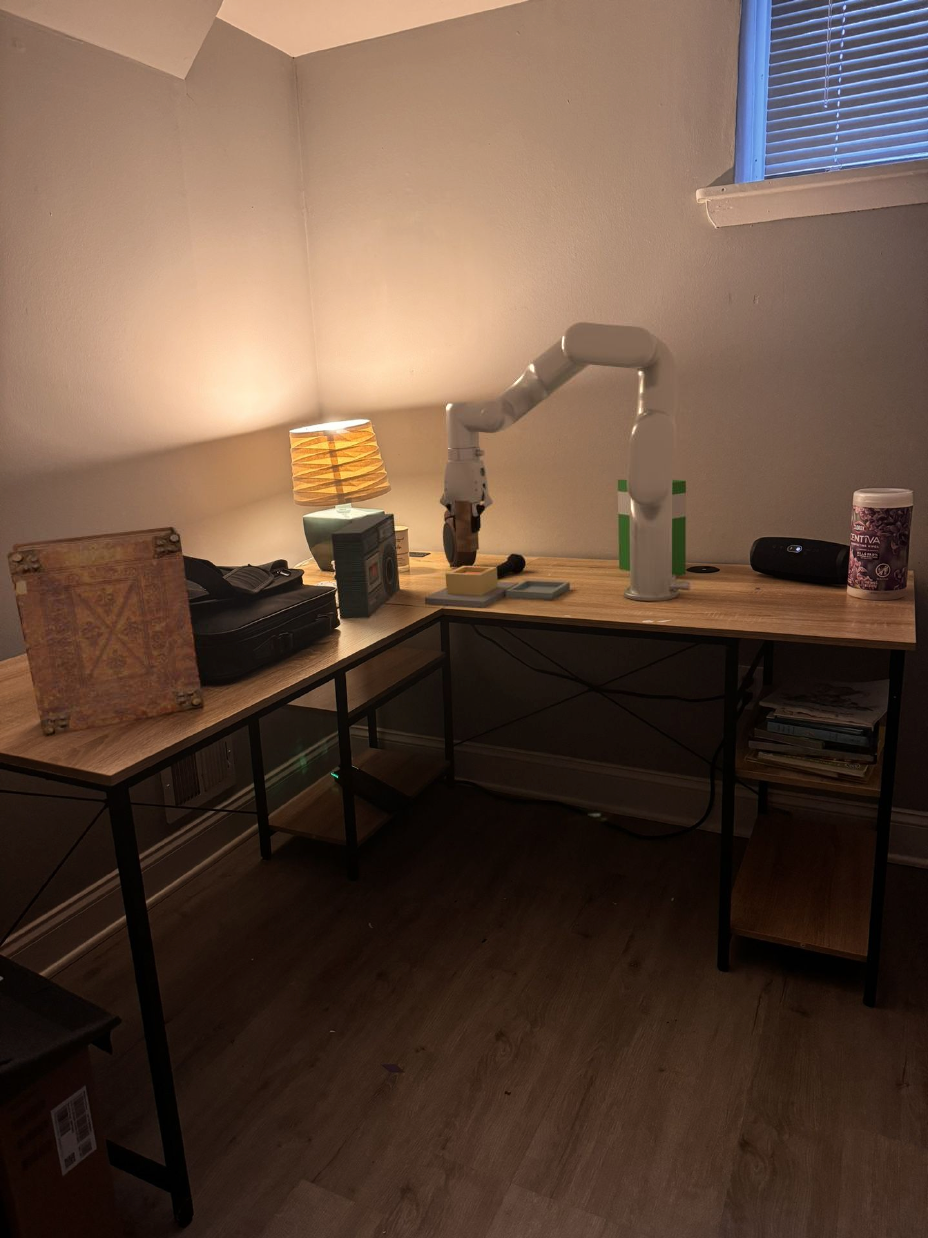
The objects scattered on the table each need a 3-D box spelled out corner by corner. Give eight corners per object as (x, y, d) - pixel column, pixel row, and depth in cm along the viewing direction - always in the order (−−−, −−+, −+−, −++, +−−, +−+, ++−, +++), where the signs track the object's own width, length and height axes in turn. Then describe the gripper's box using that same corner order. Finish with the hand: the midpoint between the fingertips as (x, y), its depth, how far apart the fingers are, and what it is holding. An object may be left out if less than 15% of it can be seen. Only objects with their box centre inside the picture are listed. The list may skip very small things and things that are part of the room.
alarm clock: (441, 567, 251) (436, 498, 246) (464, 564, 253) (460, 496, 248) (455, 576, 238) (450, 503, 233) (480, 573, 240) (476, 501, 234)
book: (41, 737, 137) (4, 552, 130) (45, 719, 146) (10, 544, 138) (205, 707, 146) (179, 532, 139) (199, 691, 155) (175, 526, 147)
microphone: (478, 597, 226) (528, 573, 238) (480, 578, 223) (530, 555, 235) (463, 588, 229) (513, 565, 242) (465, 569, 226) (516, 547, 238)
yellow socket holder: (518, 588, 218) (517, 563, 216) (484, 607, 201) (482, 580, 199) (462, 585, 225) (461, 561, 224) (424, 603, 208) (422, 577, 207)
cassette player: (368, 618, 199) (360, 532, 194) (340, 618, 200) (331, 533, 195) (399, 589, 226) (393, 513, 221) (374, 590, 228) (367, 514, 222)
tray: (569, 589, 214) (569, 582, 213) (552, 600, 204) (551, 593, 203) (525, 586, 219) (525, 579, 219) (505, 597, 209) (505, 590, 209)
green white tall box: (619, 568, 234) (617, 479, 228) (640, 564, 237) (639, 476, 231) (663, 578, 219) (663, 483, 213) (685, 574, 222) (685, 480, 216)
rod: (478, 549, 211) (476, 483, 207) (471, 552, 208) (468, 485, 204) (464, 548, 213) (461, 483, 209) (456, 551, 210) (453, 485, 205)
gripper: (502, 453, 204) (504, 530, 209) (440, 453, 211) (444, 527, 216) (488, 456, 198) (491, 535, 202) (425, 456, 205) (429, 532, 210)
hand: (467, 530), depth 209 cm, fingers closed on rod, 4 cm apart
